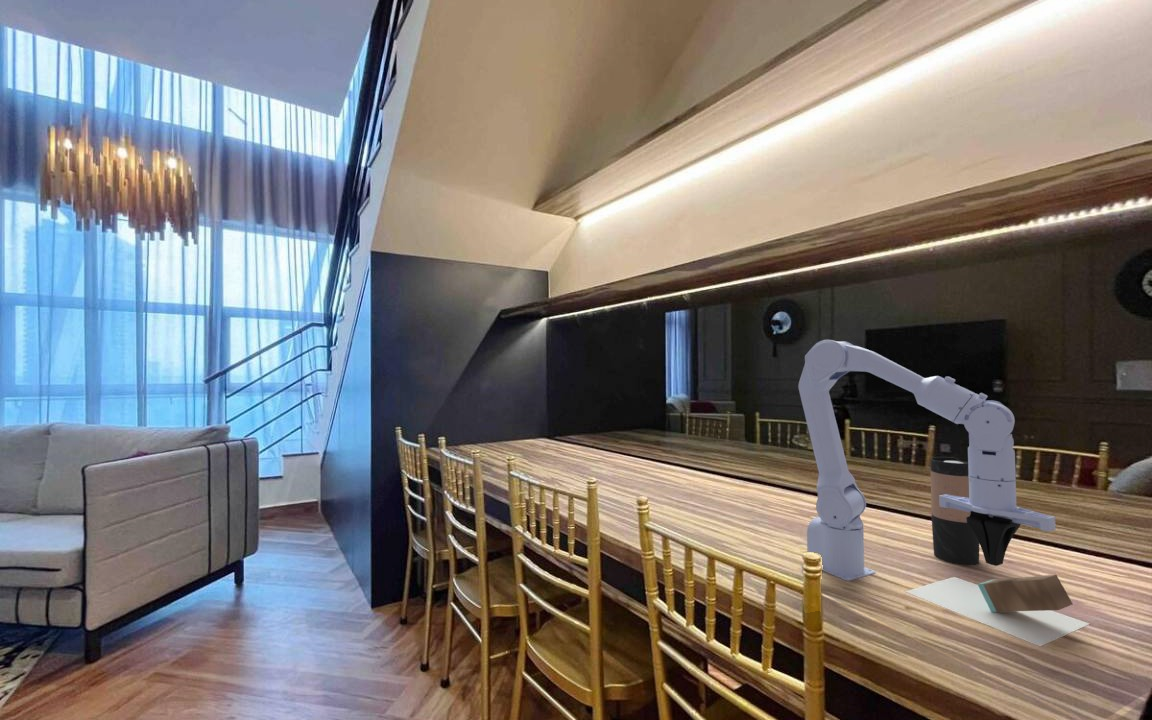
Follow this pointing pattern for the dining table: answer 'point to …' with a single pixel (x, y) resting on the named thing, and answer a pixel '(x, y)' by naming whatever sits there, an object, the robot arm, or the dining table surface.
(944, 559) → the travel mug
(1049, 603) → the walnut block
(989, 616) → the grey mat
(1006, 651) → the dining table surface
